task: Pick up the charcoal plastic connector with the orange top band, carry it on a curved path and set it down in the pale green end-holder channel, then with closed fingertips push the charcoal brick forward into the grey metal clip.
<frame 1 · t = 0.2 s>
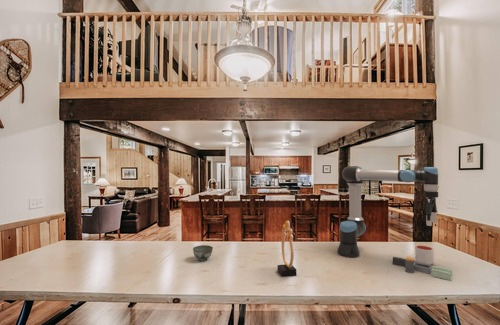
hand: (431, 224, 167), 27 cm above the table, fingers open, 13 cm apart
charcoal brick: (399, 265, 169), on the table
clip: (421, 270, 161), on the table
loop sculpture: (286, 273, 156), on the table
cup: (424, 263, 174), on the table
bowl: (202, 260, 179), on the table
end holder: (441, 276, 152), on the table
connector: (409, 271, 159), on the table
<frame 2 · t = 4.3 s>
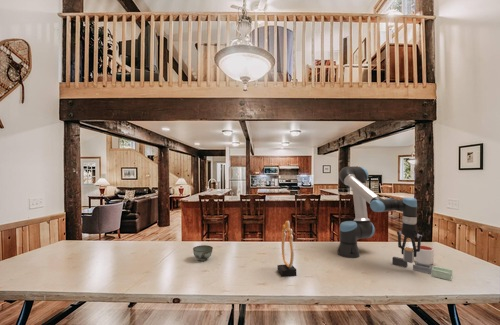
hand: (408, 260, 160), 6 cm above the table, fingers closed on connector, 4 cm apart
connector: (408, 261, 160), point 6 cm above the table, touching gripper
everything else where it was.
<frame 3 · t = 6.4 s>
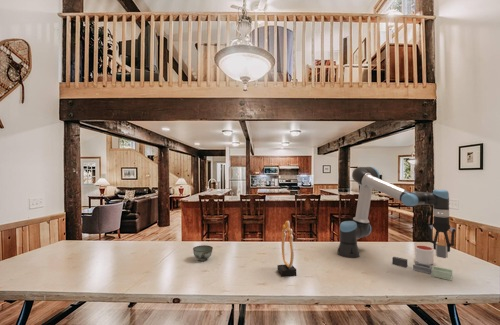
hand: (441, 256, 152), 12 cm above the table, fingers closed on connector, 4 cm apart
connector: (441, 256, 152), point 12 cm above the table, touching gripper
everything else where it was.
when the fingers open (1 cm above the table, at t = 8.4 s): connector stays where it is, resting on end holder.
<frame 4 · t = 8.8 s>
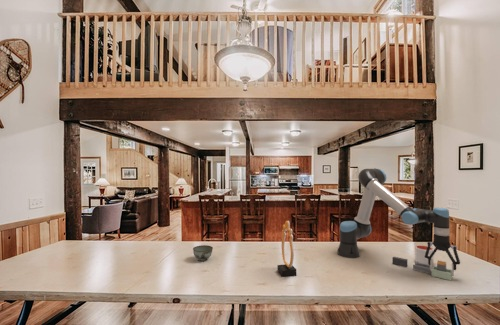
hand: (442, 272, 152), 2 cm above the table, fingers open, 9 cm apart
connector: (441, 275, 152), resting on end holder
everything else where it was.
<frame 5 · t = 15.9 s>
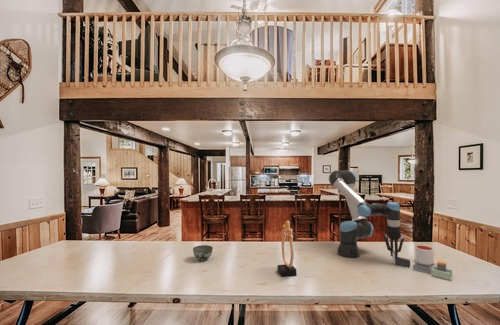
hand: (394, 261, 171), 1 cm above the table, fingers closed
charcoal brick: (402, 265, 168), on the table, touching gripper
everything else where it was.
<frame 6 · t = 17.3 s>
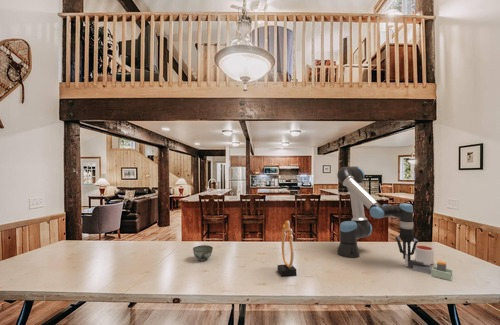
hand: (407, 264, 166), 1 cm above the table, fingers closed
charcoal brick: (415, 268, 163), on the table, touching gripper
everything else where it was.
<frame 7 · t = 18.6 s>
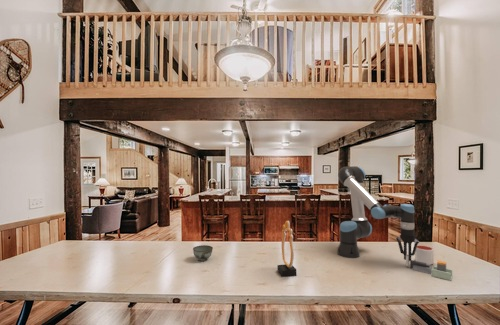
hand: (407, 265, 166), 1 cm above the table, fingers closed
charcoal brick: (418, 269, 163), on the table
everything else where it was.
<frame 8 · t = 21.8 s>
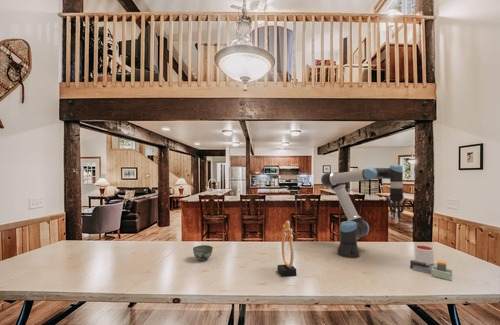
hand: (396, 222, 176), 26 cm above the table, fingers closed
nothing on the table moved.
at the end: connector 0.1 cm off-centre on the end holder, point 0.4 cm above the end holder's base; connector tilted 0°; charcoal brick 1.8 cm from the target spot, on the table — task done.
